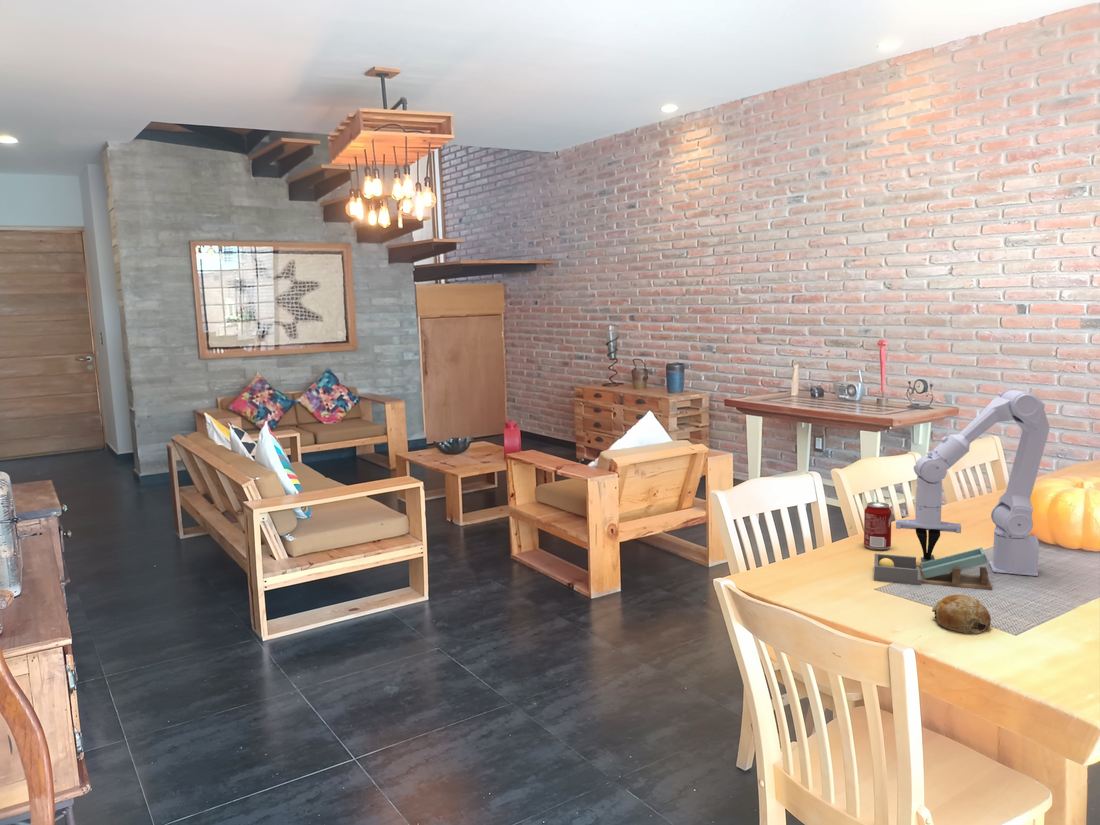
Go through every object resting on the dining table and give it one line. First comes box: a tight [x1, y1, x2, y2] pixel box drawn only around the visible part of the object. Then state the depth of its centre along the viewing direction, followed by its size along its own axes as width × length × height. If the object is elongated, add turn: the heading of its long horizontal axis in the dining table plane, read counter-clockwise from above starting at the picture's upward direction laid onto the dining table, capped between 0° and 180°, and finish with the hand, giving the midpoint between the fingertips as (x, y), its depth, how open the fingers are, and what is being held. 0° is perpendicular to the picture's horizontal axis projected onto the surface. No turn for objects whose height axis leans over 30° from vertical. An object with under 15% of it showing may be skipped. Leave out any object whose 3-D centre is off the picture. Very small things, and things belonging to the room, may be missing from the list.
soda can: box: [863, 501, 893, 551], centre depth 213 cm, size 7×7×12 cm
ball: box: [878, 558, 894, 567], centre depth 191 cm, size 4×4×4 cm
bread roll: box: [931, 594, 992, 635], centre depth 160 cm, size 10×10×8 cm
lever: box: [920, 547, 989, 579], centre depth 189 cm, size 14×14×2 cm
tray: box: [873, 553, 922, 586], centre depth 190 cm, size 10×11×4 cm
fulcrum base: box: [920, 566, 993, 591], centre depth 185 cm, size 15×8×4 cm, turn 67°
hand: (926, 558), depth 196 cm, fingers closed
